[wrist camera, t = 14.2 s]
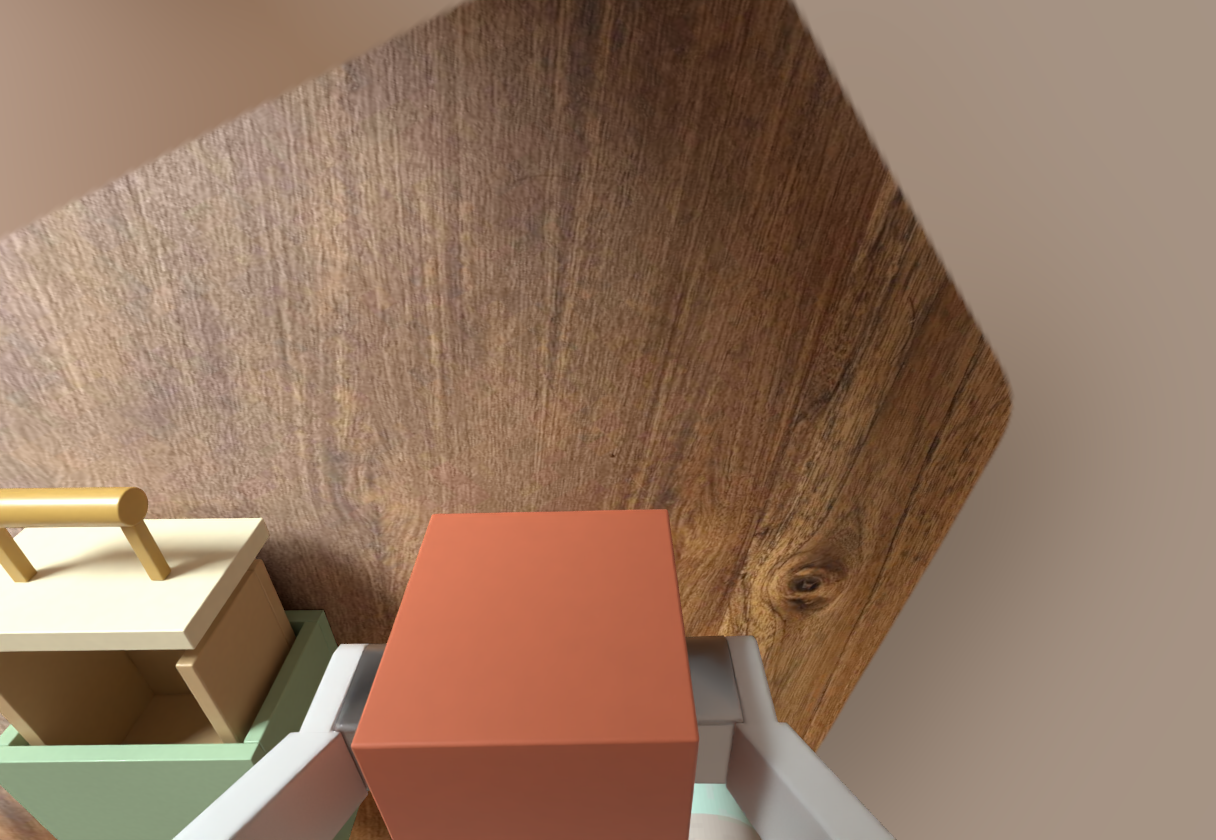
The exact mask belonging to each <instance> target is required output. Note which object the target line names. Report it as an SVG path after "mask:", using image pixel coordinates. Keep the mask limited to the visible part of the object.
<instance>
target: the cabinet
mask: <svg viewBox="0 0 1216 840" xmlns="http://www.w3.org/2000/svg"><path fill="white" fill-rule="evenodd" d="M285 613H286V616H287V618H288V620H289V623H290V625H291V627H292V629H293V632H294V634H295V636H296V640H295V642H294V644H293V646H292V648H291V650H290V652H289V654H288V656H287V658H286V660H285V662H284V663H283V665H282V667H281V669H280V671H279V673H278V675H277V677H276V679H275V681H274V683H273V685H272V687H271V689H270V691H269V693H268V695H267V697H266V699H265V701H264V703H263V705H262V707H261V709H260V711H259V713H258V715H257V717H256V719H255V721H254V723H253V725H252V727H251V728H250V730H249V732H248V734H247V736H246V738H245V740H244V743H226V744H141V745H56V746H31V745H30V744H29V743H28V742H27V741H26V740H25V739H24V738H23V737H22V735H21V734H20V733H19V732H18V731H17V730H16V729H15V728H14V727H13V726H12V725H11V724H10V725H9V727H8V728H7V729H6V730H5V731H4V732H3V733H2V735H1V736H0V785H1V786H2V787H3V788H4V789H5V790H6V791H7V792H9V793H10V794H11V795H12V796H13V797H14V798H15V799H16V800H17V801H18V802H19V803H20V804H21V805H22V806H23V807H24V808H25V809H26V810H27V811H28V812H29V813H30V814H31V815H33V816H34V817H35V818H36V819H37V820H38V821H39V822H40V823H41V824H42V825H43V826H44V827H45V828H46V829H47V830H48V831H49V832H50V833H51V834H52V835H53V836H54V837H55V838H57V839H58V840H172V839H173V838H174V837H175V836H177V835H178V834H179V833H180V832H181V831H182V830H183V829H184V828H185V827H187V826H188V825H189V824H190V823H191V822H192V821H193V820H194V819H195V818H196V817H198V816H199V815H200V814H201V813H202V812H203V811H204V810H205V809H206V808H208V807H209V806H210V805H211V804H212V803H213V802H214V801H215V800H216V799H218V798H219V797H220V796H221V795H222V794H223V793H224V792H225V791H226V790H228V789H229V788H230V787H231V786H232V785H233V784H234V783H235V782H236V781H237V780H239V779H240V778H241V777H242V776H243V775H244V774H245V773H246V772H247V771H249V770H250V769H251V768H252V767H253V766H254V765H255V764H256V763H257V762H259V761H260V760H261V759H262V758H263V757H264V756H265V755H266V754H267V753H268V752H270V751H271V750H272V749H273V748H274V747H275V746H276V745H277V744H278V743H280V742H281V741H282V740H283V739H284V738H285V737H286V736H287V735H288V734H290V733H294V732H299V731H300V729H301V726H302V724H303V722H304V720H305V717H306V715H307V713H308V710H309V708H310V706H311V703H312V701H313V699H314V697H315V694H316V692H317V690H318V687H319V685H320V683H321V680H322V678H323V676H324V674H325V671H326V669H327V667H328V664H329V662H330V660H331V657H332V655H333V653H334V652H335V651H336V649H337V648H338V646H337V644H336V641H335V639H334V636H333V633H332V631H331V628H330V626H329V623H328V620H327V618H326V615H325V613H324V610H289V611H285ZM358 808H359V807H358ZM358 808H357V809H356V810H355V812H354V813H353V814H352V815H351V817H350V818H349V819H348V820H347V822H346V823H345V824H344V826H343V827H342V828H341V829H340V831H339V832H338V833H337V834H336V836H335V837H334V838H333V839H332V840H349V837H350V834H351V830H352V827H353V824H354V821H355V818H356V815H357V811H358Z"/></svg>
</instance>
